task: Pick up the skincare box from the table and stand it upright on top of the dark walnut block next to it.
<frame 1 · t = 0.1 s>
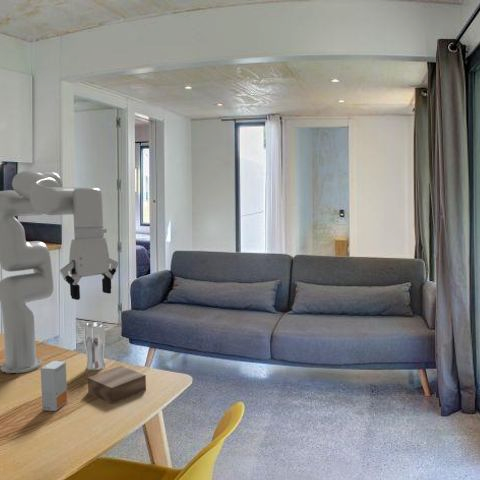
hand: (91, 295, 132), 31 cm above the table, tool pointing down, fingers open, 9 cm apart
walnut block: (117, 392, 145), on the table
skincare box: (55, 406, 135), on the table
beer glass: (95, 368, 164), on the table
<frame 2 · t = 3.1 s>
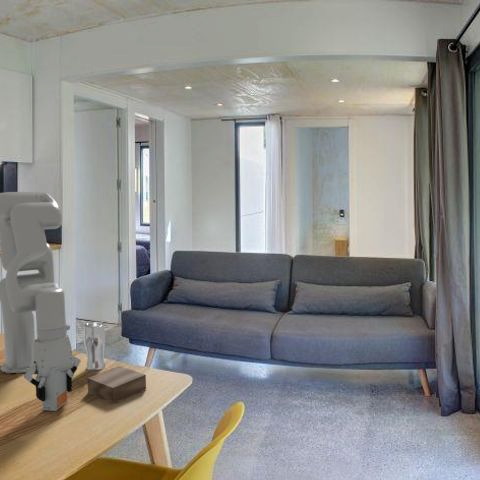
hand: (54, 394, 135), 3 cm above the table, tool pointing down, fingers closed on skincare box, 7 cm apart
skincare box: (55, 406, 135), on the table, touching gripper
everything else where it was.
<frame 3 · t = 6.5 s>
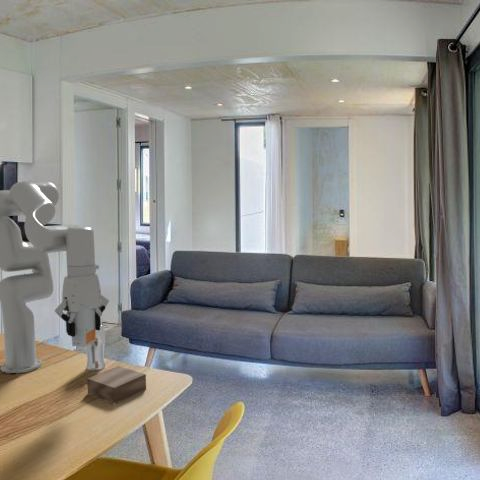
hand: (84, 332, 138), 20 cm above the table, tool pointing down, fingers closed on skincare box, 7 cm apart
skincare box: (84, 344, 138), point 16 cm above the table, touching gripper
everything else where it was.
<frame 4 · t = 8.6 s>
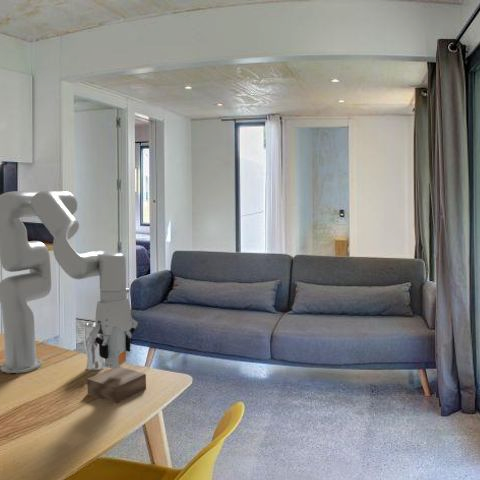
hand: (115, 353, 143), 12 cm above the table, tool pointing down, fingers closed on skincare box, 7 cm apart
skincare box: (115, 365, 144), point 8 cm above the table, touching gripper
everything else where it was.
when the fingers open (9 cm above the table, at t = 10.3 s): skincare box stays where it is, resting on walnut block.
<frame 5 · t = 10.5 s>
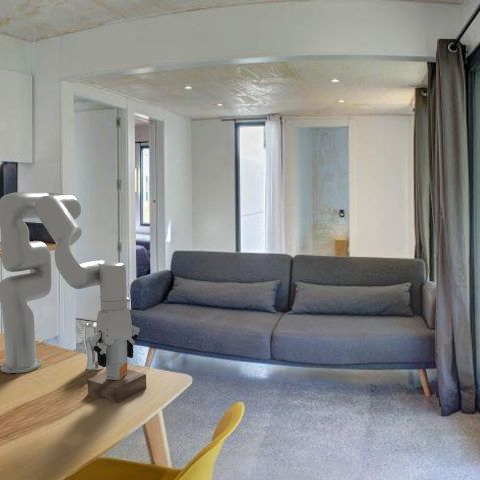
hand: (116, 361, 144), 9 cm above the table, tool pointing down, fingers open, 9 cm apart
walnut block: (117, 392, 145), on the table, touching skincare box
skincare box: (117, 376, 145), point 4 cm above the table, touching walnut block
everything else where it was.
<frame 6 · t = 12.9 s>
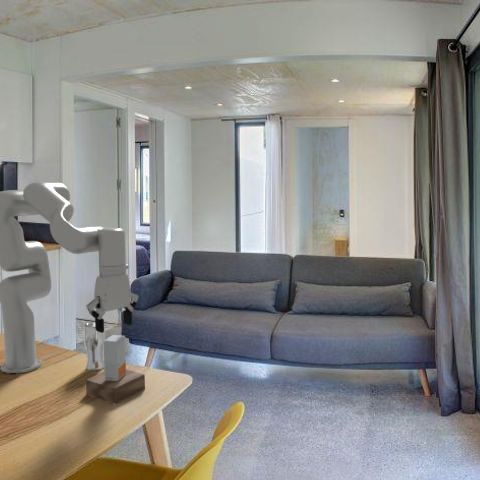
hand: (114, 327, 143), 19 cm above the table, tool pointing down, fingers open, 9 cm apart
walnut block: (116, 393, 144), on the table
skincare box: (115, 377, 144), point 4 cm above the table
everything else where it was.
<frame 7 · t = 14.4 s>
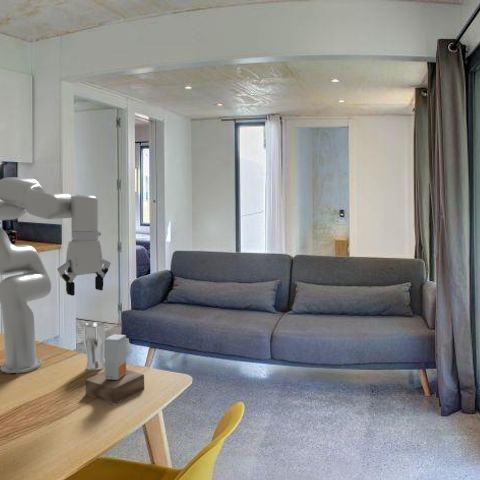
hand: (85, 292, 147), 29 cm above the table, tool pointing down, fingers open, 9 cm apart
walnut block: (115, 393, 144), on the table, touching skincare box
skincare box: (116, 377, 144), point 4 cm above the table, touching walnut block
everything else where it was.
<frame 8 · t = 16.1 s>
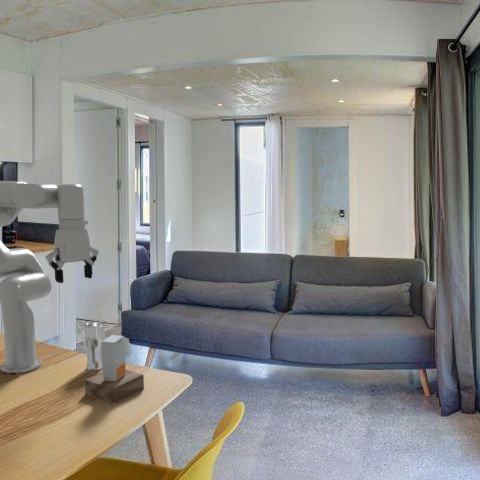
hand: (74, 280, 149), 32 cm above the table, tool pointing down, fingers open, 9 cm apart
at the end: skincare box 0.5 cm from the walnut block (horizontally); skincare box point 4.4 cm above the table; skincare box tilted 3° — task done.
